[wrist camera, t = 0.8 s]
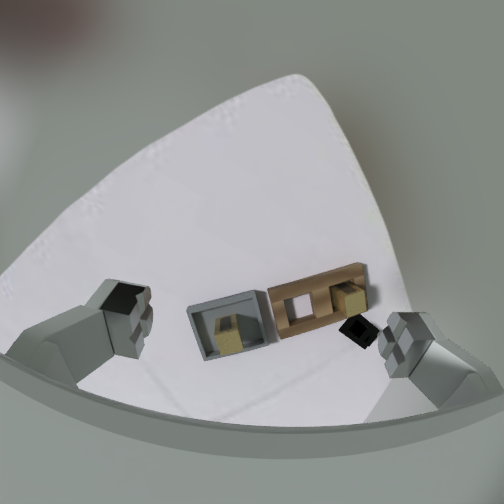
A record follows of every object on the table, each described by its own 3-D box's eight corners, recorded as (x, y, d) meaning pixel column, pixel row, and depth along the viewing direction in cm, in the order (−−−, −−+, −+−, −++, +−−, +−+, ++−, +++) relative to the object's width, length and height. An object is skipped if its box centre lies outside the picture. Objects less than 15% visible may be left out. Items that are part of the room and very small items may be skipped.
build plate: (330, 328, 56) (338, 337, 51) (352, 301, 56) (361, 308, 51) (365, 353, 58) (374, 362, 53) (385, 329, 58) (395, 336, 53)
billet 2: (348, 298, 55) (366, 310, 47) (331, 304, 55) (347, 317, 47) (346, 279, 54) (363, 289, 46) (328, 285, 54) (344, 296, 46)
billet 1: (240, 331, 53) (243, 350, 45) (221, 336, 53) (221, 355, 45) (235, 312, 52) (237, 329, 44) (215, 317, 52) (213, 334, 44)
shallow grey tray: (267, 339, 54) (268, 345, 52) (204, 355, 53) (204, 361, 51) (253, 289, 53) (255, 293, 50) (187, 306, 52) (186, 310, 49)
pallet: (362, 306, 55) (368, 310, 53) (278, 334, 54) (280, 339, 52) (356, 262, 54) (362, 264, 52) (267, 288, 53) (269, 292, 50)
